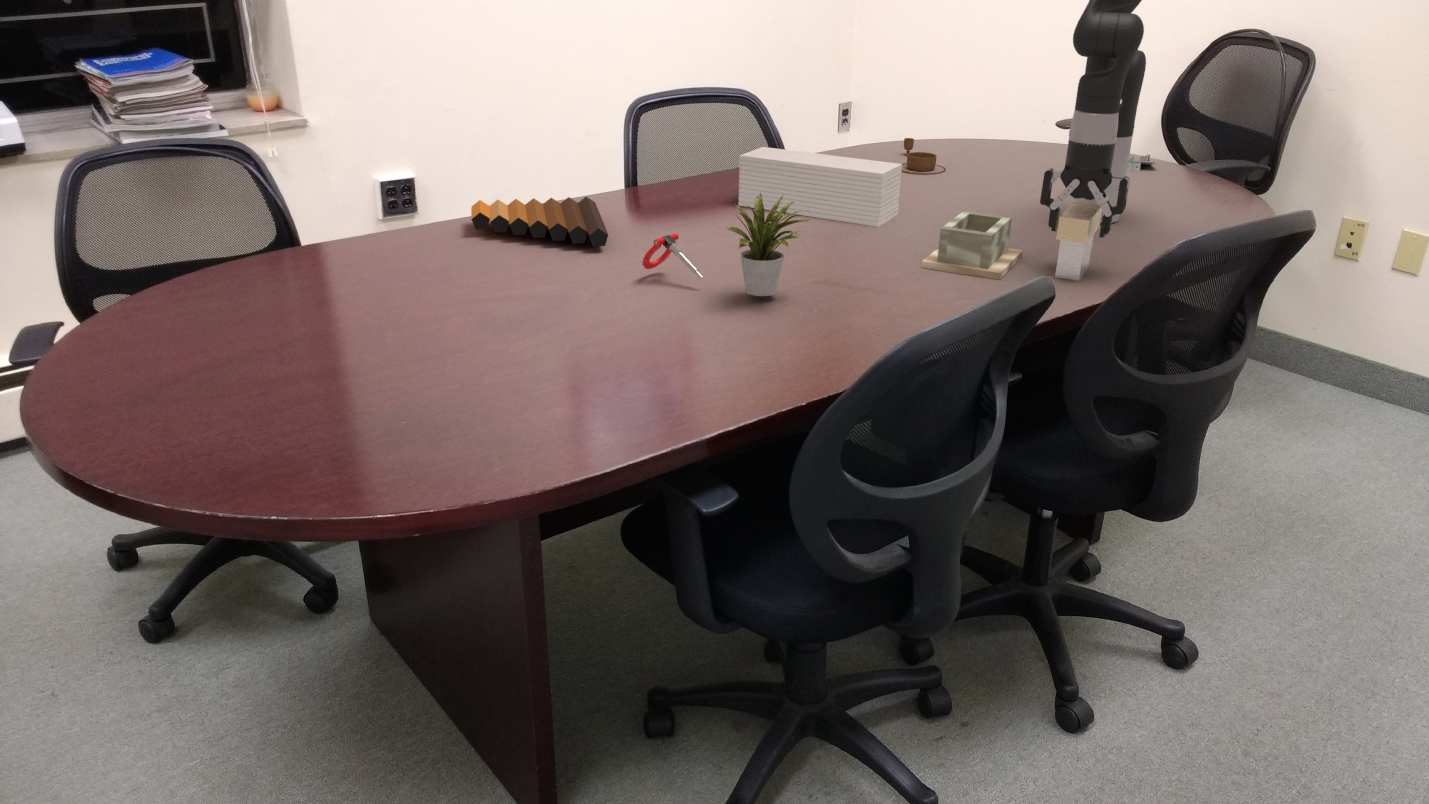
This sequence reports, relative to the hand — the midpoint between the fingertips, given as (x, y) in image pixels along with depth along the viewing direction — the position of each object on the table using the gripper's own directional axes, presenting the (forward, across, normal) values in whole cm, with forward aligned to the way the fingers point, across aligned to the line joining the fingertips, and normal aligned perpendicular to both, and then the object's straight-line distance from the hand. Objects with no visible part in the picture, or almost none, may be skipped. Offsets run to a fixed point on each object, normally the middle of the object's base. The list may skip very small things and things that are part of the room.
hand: (1077, 233), depth 191 cm
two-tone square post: (+7, 0, 0) cm, 7 cm away
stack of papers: (+7, +56, -18) cm, 59 cm away
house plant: (+7, +42, +38) cm, 58 cm away
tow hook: (+9, +62, +36) cm, 72 cm away
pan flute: (+5, +89, +35) cm, 96 cm away
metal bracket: (+6, -2, -93) cm, 93 cm away
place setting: (+8, +49, -68) cm, 84 cm away
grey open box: (+7, +17, +3) cm, 19 cm away
